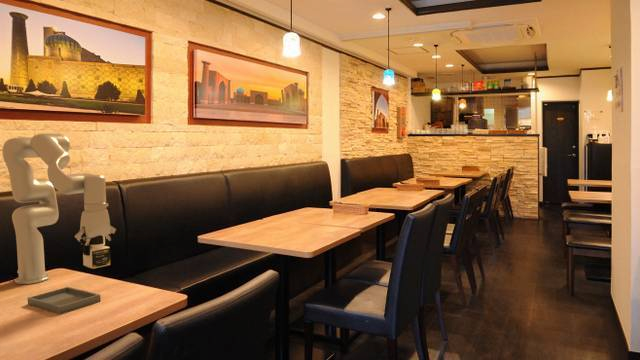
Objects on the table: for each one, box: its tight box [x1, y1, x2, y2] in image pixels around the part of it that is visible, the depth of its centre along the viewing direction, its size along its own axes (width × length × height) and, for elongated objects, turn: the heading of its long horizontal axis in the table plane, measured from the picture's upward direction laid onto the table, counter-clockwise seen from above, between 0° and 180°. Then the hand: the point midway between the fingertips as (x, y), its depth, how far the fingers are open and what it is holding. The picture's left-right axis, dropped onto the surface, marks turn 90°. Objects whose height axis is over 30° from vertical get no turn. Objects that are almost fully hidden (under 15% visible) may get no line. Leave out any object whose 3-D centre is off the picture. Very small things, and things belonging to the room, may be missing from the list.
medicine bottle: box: [82, 235, 111, 269], centre depth 182 cm, size 7×7×12 cm
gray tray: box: [27, 286, 101, 315], centre depth 171 cm, size 20×15×2 cm
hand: (96, 252), depth 182 cm, fingers closed on medicine bottle, 7 cm apart
